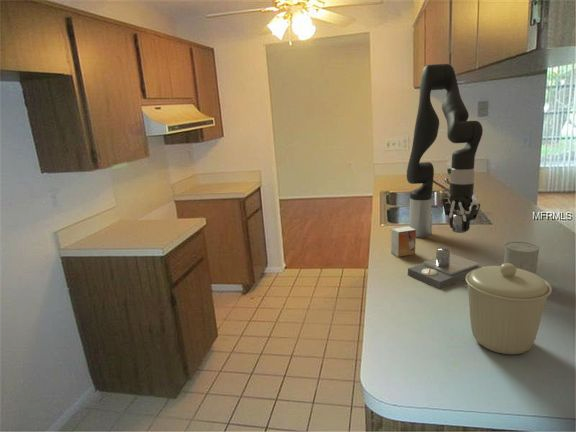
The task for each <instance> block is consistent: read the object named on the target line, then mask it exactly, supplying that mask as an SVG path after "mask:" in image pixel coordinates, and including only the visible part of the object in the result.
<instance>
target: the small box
mask: <svg viewBox="0 0 576 432" xmlns="http://www.w3.org/2000/svg"><path fill="white" fill-rule="evenodd" d="M390 239H391V240H390V242H391V244H390V253H391V254H393V255H394V256H396V257H398V258H399V257H404V256H414V255H416V239H417V237H416V230H415V229H413V228H411V227H409V225H408V226H401V227H394V228H391V235H390Z"/></svg>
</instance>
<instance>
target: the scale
mask: <svg viewBox="0 0 576 432" xmlns="http://www.w3.org/2000/svg"><path fill="white" fill-rule="evenodd" d="M481 267H482V266H481V265H479V266H477V267H474V268H471V269H468V270H465V271H463V272H460V273H457V274H454V275H448V274H446V273H443V272H441V271H438V270H436V269H433V268H431V267H428V266H426V265H423V263H421V264H417V265H414V266H411V267H408V268H407V275H408V276H410V277H413V278H414V279H417V280H419V281H421V282H424V283H426V284H428V285H431V286H433V287H435V288H437V289H442V288H446V287H448V286H450V285H453V284H456V283H458V282H459V283H460V282H461V281H464V280H465V278H466V275H467V274H468V273H469V272H471V271H473V270H476V269H478V268H481Z"/></svg>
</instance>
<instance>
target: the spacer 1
mask: <svg viewBox="0 0 576 432" xmlns="http://www.w3.org/2000/svg"><path fill="white" fill-rule="evenodd" d="M435 254H436V257H435V258H436V266H438V267H443V268H445V267H449V264H450V254H451V248H449V247H446V246H437V247H436V253H435Z"/></svg>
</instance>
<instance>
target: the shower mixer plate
mask: <svg viewBox="0 0 576 432" xmlns="http://www.w3.org/2000/svg"><path fill="white" fill-rule="evenodd" d="M422 264H423V265H426V266H428V267H431V268H433V269H436V270H438V271H441V272H443V273H446V274H448V275H454V274H457V273H460V272H463V271H465V270H468V269H471V268H474V267H477V266H480V265H479V262H477V261H473V260H471V259H467V258H464V257H462V256H459V255H456V254H454V253H450V264H449V267H445V268H443V267H438V266H436V257H434V258H431V259H428V260H425V261H423V263H422Z"/></svg>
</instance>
